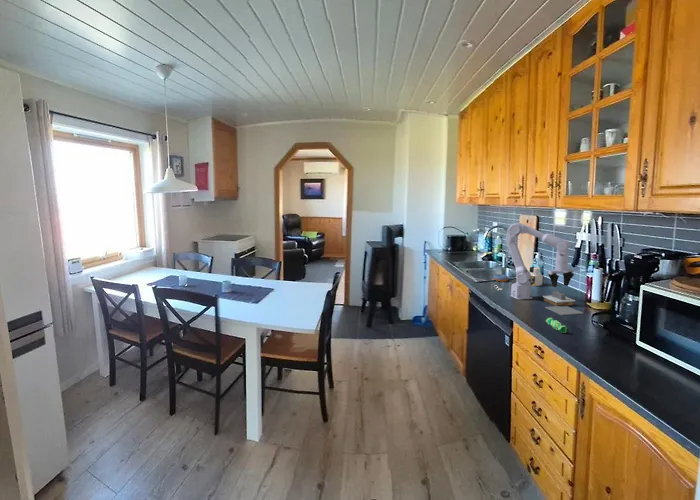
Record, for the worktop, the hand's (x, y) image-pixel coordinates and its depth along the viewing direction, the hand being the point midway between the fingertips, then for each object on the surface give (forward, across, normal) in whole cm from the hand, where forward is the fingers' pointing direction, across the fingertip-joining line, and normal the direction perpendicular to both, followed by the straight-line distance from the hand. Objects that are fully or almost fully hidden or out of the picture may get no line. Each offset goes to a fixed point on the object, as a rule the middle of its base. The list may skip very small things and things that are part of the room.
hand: (560, 286), depth 190 cm
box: (+9, -1, -1) cm, 10 cm away
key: (+10, -13, +36) cm, 40 cm away
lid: (+8, -1, -1) cm, 8 cm away
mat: (+9, -8, -12) cm, 17 cm away
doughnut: (+10, +1, +53) cm, 54 cm away
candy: (+10, -30, -31) cm, 44 cm away
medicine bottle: (+10, +15, +37) cm, 41 cm away
